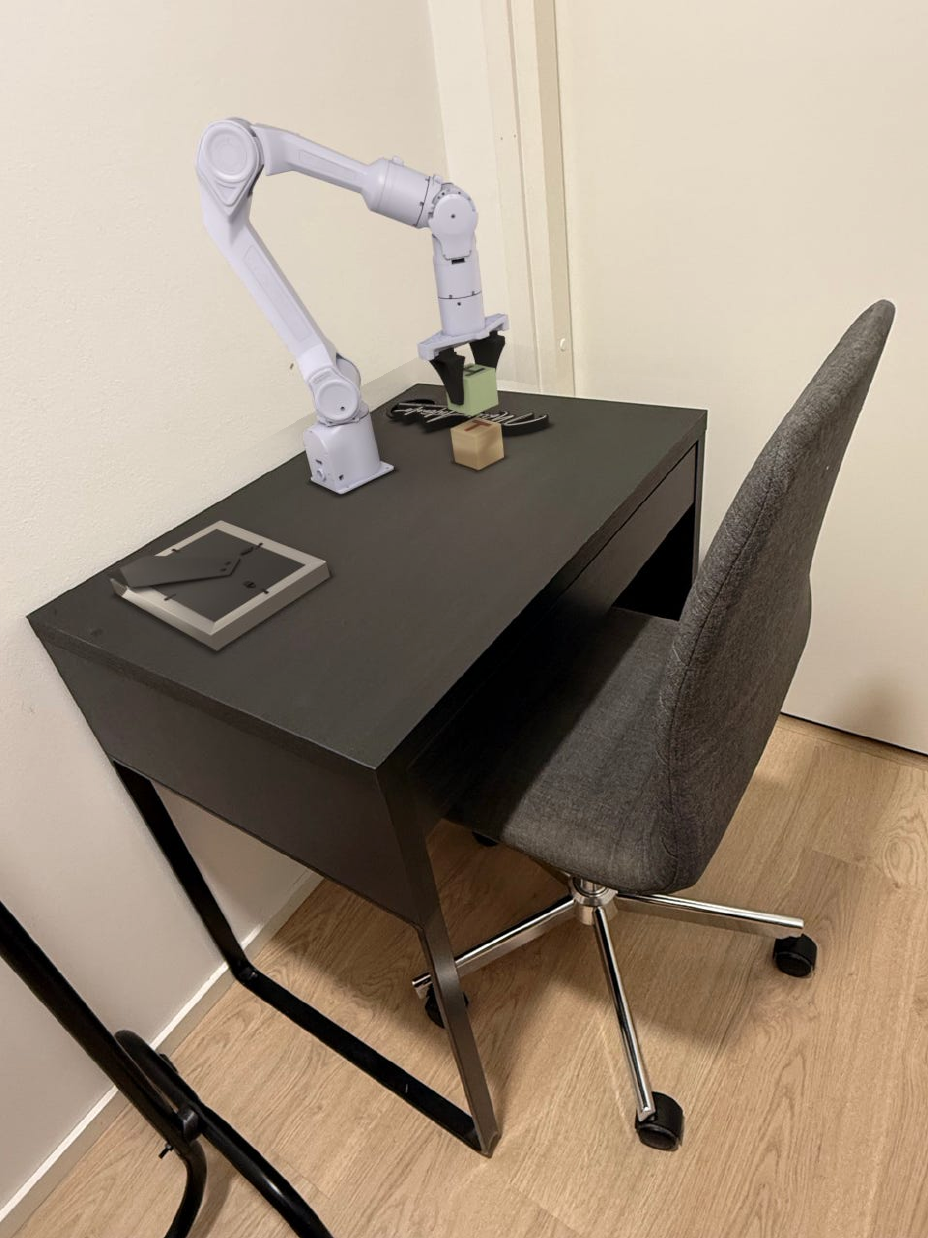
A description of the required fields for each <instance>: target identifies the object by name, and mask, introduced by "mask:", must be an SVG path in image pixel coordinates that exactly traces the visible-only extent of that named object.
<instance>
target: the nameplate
mask: <svg viewBox="0 0 928 1238" xmlns="http://www.w3.org/2000/svg"><path fill="white" fill-rule="evenodd" d="M396 406H397V409H394V410H392V411H391V413H392V420H393V421H394V422H403V423H404V425H405V426H407V425H410V424H413V423H416V422H417V423H420V424H422V425H423V427H424V428H425V432H426V433H432V432H435V431H438V430H441V429H442V430H443V429H444V428H448V427H452V426H458V425H460V424H462V423H464V422H466V421H469V420H471V419H473V418H475V417H478V418H482V419H486V420H489V421H493V422H496V423H500V424H501V432H502V436H505V437H513V436H521V435H527V434H531V433H535V432H538V431H542V430H544V429H547V428H548V427H549V426H550V417H549V414H546V413H544V414H543V413H542V414H540V415H539V416H538V417H536V418H535V412H527V413H525V414H521V415H519V416H517V415H516V414H510V413H511V412H510V411H509V410H504V409H503V410H499V411H498V413H490V412H485V411H486V410H485V411H483V412H480V413H478V414H476V415H474V416H470V415H467V414H463V413H460V412H457V411H453V410H450V409H449V408H448V404H440V403H439V404H438V403H421V402H405V401H402V402H398V403H397V404H396Z"/></svg>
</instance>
